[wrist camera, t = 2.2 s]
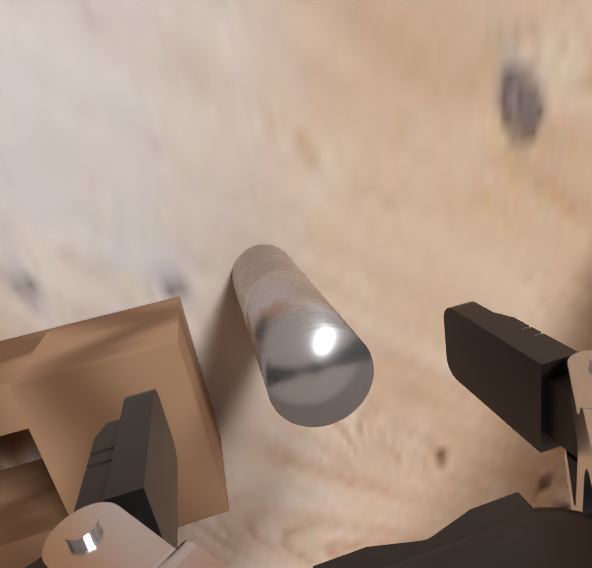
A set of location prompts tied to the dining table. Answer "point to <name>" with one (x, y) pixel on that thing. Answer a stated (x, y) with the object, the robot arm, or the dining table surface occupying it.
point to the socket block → (100, 415)
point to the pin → (300, 340)
